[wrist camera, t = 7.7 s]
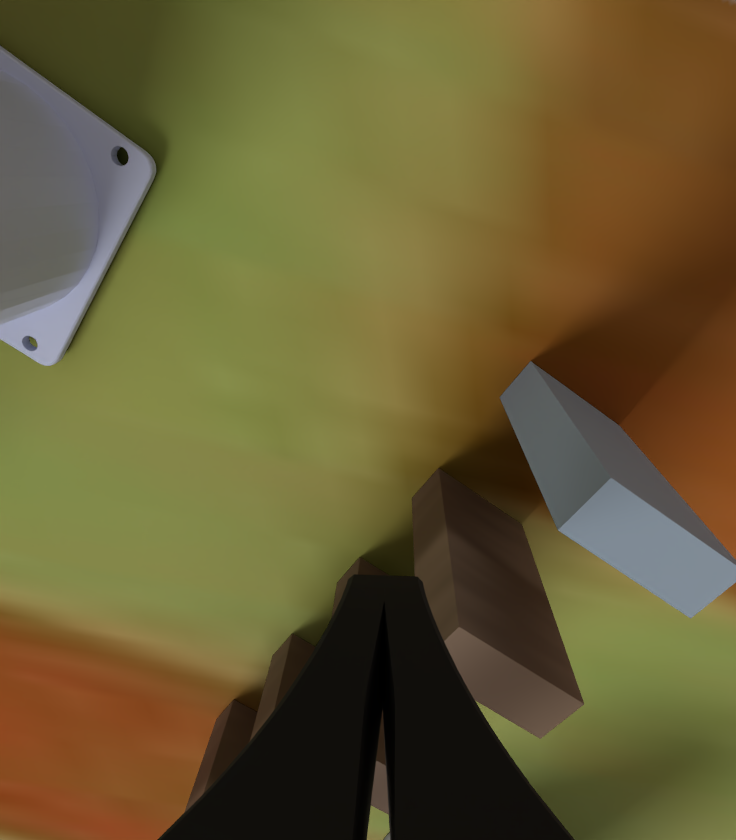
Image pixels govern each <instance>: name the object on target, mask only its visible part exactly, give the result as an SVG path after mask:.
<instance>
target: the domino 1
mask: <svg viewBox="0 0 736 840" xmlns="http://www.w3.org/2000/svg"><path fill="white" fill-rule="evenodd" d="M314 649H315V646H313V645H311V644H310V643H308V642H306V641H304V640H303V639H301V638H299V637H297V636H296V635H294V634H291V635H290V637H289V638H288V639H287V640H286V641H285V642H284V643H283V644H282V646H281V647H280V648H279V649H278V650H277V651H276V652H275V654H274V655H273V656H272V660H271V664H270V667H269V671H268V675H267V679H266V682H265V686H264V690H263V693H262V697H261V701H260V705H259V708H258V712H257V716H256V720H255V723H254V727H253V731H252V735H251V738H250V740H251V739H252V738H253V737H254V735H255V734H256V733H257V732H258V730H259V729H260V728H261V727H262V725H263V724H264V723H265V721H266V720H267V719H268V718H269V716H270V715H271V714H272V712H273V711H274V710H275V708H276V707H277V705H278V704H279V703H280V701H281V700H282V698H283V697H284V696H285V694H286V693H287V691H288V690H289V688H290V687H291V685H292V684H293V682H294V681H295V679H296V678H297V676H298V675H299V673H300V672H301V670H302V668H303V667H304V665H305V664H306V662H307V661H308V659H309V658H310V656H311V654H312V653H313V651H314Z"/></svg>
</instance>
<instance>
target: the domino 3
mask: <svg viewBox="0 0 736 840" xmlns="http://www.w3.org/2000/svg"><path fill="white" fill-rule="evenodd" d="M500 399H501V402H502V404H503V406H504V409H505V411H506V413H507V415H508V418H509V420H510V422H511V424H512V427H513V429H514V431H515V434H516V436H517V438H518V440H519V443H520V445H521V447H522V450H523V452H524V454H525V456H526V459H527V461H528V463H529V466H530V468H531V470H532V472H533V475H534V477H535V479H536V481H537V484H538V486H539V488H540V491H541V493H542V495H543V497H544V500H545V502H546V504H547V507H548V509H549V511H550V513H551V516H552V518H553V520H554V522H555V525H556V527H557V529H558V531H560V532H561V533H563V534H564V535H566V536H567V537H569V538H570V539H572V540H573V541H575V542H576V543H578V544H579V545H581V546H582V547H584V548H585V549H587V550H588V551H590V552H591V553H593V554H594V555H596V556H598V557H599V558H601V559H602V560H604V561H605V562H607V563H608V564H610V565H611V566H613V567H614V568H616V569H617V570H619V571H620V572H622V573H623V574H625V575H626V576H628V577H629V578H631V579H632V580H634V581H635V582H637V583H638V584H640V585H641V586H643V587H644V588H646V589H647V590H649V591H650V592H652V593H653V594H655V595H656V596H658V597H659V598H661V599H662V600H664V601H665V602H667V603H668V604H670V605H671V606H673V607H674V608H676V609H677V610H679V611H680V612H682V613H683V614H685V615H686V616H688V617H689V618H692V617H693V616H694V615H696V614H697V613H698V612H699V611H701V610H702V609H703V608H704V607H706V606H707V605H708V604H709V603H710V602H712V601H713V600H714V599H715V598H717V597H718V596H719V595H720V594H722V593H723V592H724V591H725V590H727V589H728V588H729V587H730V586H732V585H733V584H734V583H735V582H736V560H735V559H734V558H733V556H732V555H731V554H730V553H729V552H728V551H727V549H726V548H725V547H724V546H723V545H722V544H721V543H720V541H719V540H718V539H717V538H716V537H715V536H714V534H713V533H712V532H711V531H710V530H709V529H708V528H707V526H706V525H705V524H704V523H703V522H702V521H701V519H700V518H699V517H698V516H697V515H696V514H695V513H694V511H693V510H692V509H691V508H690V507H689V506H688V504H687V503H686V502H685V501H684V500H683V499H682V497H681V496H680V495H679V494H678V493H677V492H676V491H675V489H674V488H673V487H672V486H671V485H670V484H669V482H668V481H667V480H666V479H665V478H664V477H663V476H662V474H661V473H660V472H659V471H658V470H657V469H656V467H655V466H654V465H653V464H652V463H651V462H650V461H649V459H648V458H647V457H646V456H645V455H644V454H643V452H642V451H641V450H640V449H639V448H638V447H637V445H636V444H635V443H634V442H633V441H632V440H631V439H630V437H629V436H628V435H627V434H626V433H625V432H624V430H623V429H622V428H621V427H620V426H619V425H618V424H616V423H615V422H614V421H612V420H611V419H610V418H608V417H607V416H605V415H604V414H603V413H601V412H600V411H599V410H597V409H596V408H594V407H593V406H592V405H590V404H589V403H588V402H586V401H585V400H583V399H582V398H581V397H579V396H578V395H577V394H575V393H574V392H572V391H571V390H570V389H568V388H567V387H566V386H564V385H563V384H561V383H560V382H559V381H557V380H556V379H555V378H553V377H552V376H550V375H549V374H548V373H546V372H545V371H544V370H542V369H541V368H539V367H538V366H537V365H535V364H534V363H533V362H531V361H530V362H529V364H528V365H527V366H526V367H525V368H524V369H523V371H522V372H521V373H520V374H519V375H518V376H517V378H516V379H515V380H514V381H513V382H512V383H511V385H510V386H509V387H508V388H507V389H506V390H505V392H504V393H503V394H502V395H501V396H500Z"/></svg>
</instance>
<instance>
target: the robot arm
mask: <svg viewBox="0 0 736 840" xmlns="http://www.w3.org/2000/svg"><path fill="white" fill-rule="evenodd" d="M121 147H123V148H124V149H125V150H126V151H127V153H128V156H129V159H128V162H127V163H126V165H122V164H121V163H120V162H119V161H118V158H117V151H118V150H119V149H120V148H121ZM155 174H156V164H155V162H154V160H153V157H152V156H151V155H150V154H149V153H148V152H146V151H145V150H144V149H142V148H141V147H140V146H138V145H137V144H135V143H134V142H133V141H131V140H130V139H129V138H127V137H126V136H124V135H123V134H122V133H120V132H119V131H117V130H116V129H115V128H113V127H112V126H111V125H109V124H108V123H106V122H105V121H104V120H102V119H101V118H99V117H98V116H97V115H95V114H94V113H93V112H91V111H90V110H88V109H87V108H86V107H84V106H83V105H82V104H80V103H79V102H77V101H76V100H75V99H73V98H72V97H70V96H69V95H68V94H66V93H65V92H64V91H62V90H61V89H59V88H58V87H57V86H55V85H54V84H52V83H51V82H50V81H48V80H47V79H46V78H44V77H43V76H41V75H40V74H39V73H37V72H36V71H35V70H33V69H32V68H30V67H29V66H28V65H26V64H25V63H23V62H22V61H21V60H19V59H18V58H17V57H15V56H14V55H12V54H11V53H10V52H8V51H7V50H6V49H4V48H3V47H1V46H0V339H1V340H3V341H4V342H6V343H7V344H9V345H11V346H12V347H14V348H15V349H17V350H19V351H20V352H22V353H23V354H25V355H27V356H28V357H30V358H32V359H33V360H35V361H36V362H38V363H40V364H42V365H47V366H50V365H53V364H55V363H57V362H59V361H60V360H61V359H62V358H63V356H64V354H65V352H66V350H67V348H68V346H69V345H70V343H71V341H72V339H73V337H74V335H75V333H76V331H77V329H78V327H79V325H80V323H81V321H82V319H83V317H84V315H85V313H86V311H87V309H88V307H89V305H90V303H91V301H92V299H93V297H94V296H95V294H96V292H97V290H98V288H99V286H100V284H101V282H102V280H103V278H104V276H105V274H106V272H107V270H108V268H109V266H110V264H111V262H112V260H113V258H114V256H115V254H116V252H117V250H118V248H119V247H120V245H121V243H122V241H123V239H124V237H125V235H126V233H127V231H128V229H129V227H130V225H131V223H132V221H133V219H134V217H135V215H136V213H137V211H138V209H139V207H140V205H141V203H142V201H143V199H144V198H145V196H146V194H147V192H148V190H149V188H150V186H151V184H152V182H153V180H154V178H155ZM30 336H31V337H33V338H34V339H35V340H36V341H37V343H38V347H34V346H33V345H32V344H31V343H30V340H29V337H30ZM382 709H383V725H384V742H385V759H386V775H387V792H388V808H389V825H390V840H574V839H573V837H572V836H571V835H570V834H569V832H568V831H567V830H566V829H565V827H564V826H563V825H562V824H561V822H560V821H559V820H558V819H557V817H556V816H555V815H554V814H553V812H552V811H551V810H550V808H549V807H548V806H547V805H546V803H545V802H544V801H543V800H542V798H541V797H540V796H539V795H538V793H537V792H536V791H535V790H534V788H533V787H532V786H531V784H530V783H529V782H528V780H527V779H526V777H525V776H524V775H523V773H522V772H521V771H520V769H519V768H518V766H517V765H516V764H515V762H514V761H513V759H512V758H511V757H510V755H509V754H508V752H507V751H506V749H505V748H504V746H503V745H502V743H501V742H500V740H499V739H498V737H497V736H496V734H495V733H494V731H493V730H492V728H491V726H490V725H489V723H488V722H487V720H486V718H485V717H484V715H483V713H482V712H481V710H480V708H479V707H478V705H477V703H476V702H475V700H474V698H473V696H472V695H471V693H470V691H469V689H468V688H467V686H466V684H465V682H464V680H463V678H462V677H461V675H460V673H459V671H458V669H457V667H456V665H455V663H454V661H453V659H452V657H451V655H450V653H449V651H448V649H447V647H446V644H445V642H444V640H443V638H442V636H441V634H440V631H439V629H438V627H437V624H436V622H435V619H434V617H433V614H432V612H431V609H430V606H429V603H428V600H427V597H426V593H425V590H424V585H423V582H422V581H421V580H420V579H419V578H418V577H417V576H388V575H359V574H354V575H353V576H351V577H350V578H349V579H348V581H347V584H346V587H345V590H344V592H343V595H342V597H341V600H340V602H339V604H338V606H337V608H336V610H335V612H334V614H333V616H332V618H331V620H330V622H329V624H328V626H327V628H326V630H325V631H324V633H323V635H322V637H321V639H320V640H319V642H318V644H317V646H316V647H315V649H314V651H313V653H312V654H311V656H310V658H309V659H308V661H307V662H306V664H305V665H304V667H303V668H302V670H301V672H300V673H299V675H298V676H297V678H296V679H295V681H294V682H293V684H292V685H291V687H290V688H289V690H288V691H287V693H286V694H285V696H284V697H283V698H282V700H281V701H280V703H279V704H278V705H277V707H276V708H275V710H274V711H273V712H272V714H271V715H270V716H269V718H268V719H267V720H266V721H265V723H264V724H263V725H262V727H261V728H260V729H259V730H258V732H257V733H256V734H255V735H254V737H253V738H252V739H251V740H250V742H249V743H248V744H247V745H246V746H245V747H244V749H243V750H242V751H241V752H240V753H239V754H238V756H237V757H236V758H235V759H234V760H233V761H232V763H231V764H230V765H229V766H228V767H227V768H226V770H225V771H224V772H223V773H222V774H221V775H220V776H219V777H218V779H217V780H216V781H215V782H214V783H213V784H212V785H211V786H210V787H209V788H208V789H207V791H206V792H205V793H204V794H203V795H202V796H201V797H200V798H199V799H198V800H197V801H196V802H195V803H194V804H193V805H192V806H191V807H190V808H189V809H188V810H187V811H186V812H185V813H184V814H183V815H182V816H181V817H180V818H179V819H178V820H177V821H176V822H175V823H174V824H173V825H172V826H171V827H170V828H169V829H168V830H167V831H166V832H165V833H164V834H163V835H162V836H161V837H160V838H159V839H158V840H367V831H368V823H369V814H370V806H371V798H372V790H373V782H374V774H375V766H376V758H377V750H378V742H379V734H380V726H381V718H382Z"/></svg>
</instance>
